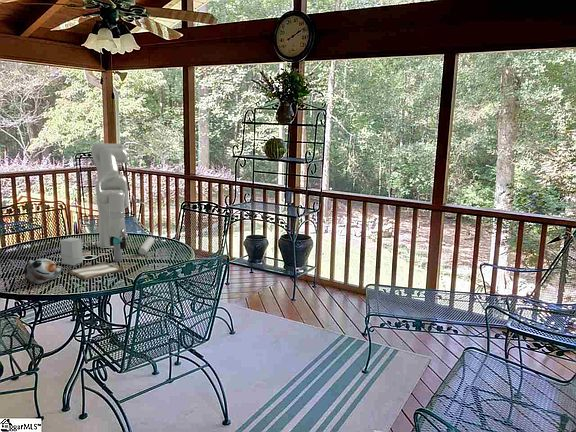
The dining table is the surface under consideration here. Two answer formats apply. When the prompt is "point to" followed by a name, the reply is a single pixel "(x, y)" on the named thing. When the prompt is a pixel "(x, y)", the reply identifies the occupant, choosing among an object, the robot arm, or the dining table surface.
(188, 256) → the dining table surface
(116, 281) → the dining table surface
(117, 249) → the marker
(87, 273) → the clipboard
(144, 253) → the tube
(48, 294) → the dining table surface
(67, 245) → the supplement box
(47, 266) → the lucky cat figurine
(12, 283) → the dining table surface
